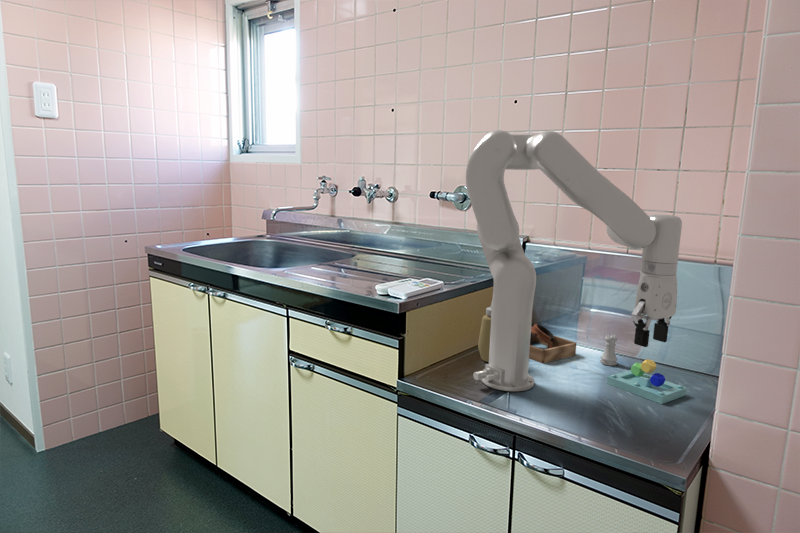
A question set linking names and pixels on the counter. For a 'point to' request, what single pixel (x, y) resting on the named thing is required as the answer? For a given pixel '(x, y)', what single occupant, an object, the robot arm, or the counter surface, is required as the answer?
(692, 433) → the counter surface
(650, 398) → the baseplate
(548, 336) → the pottery mug
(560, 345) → the tray
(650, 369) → the multicolored ball cluster
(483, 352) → the squeeze bottle
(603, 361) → the rook chess piece
